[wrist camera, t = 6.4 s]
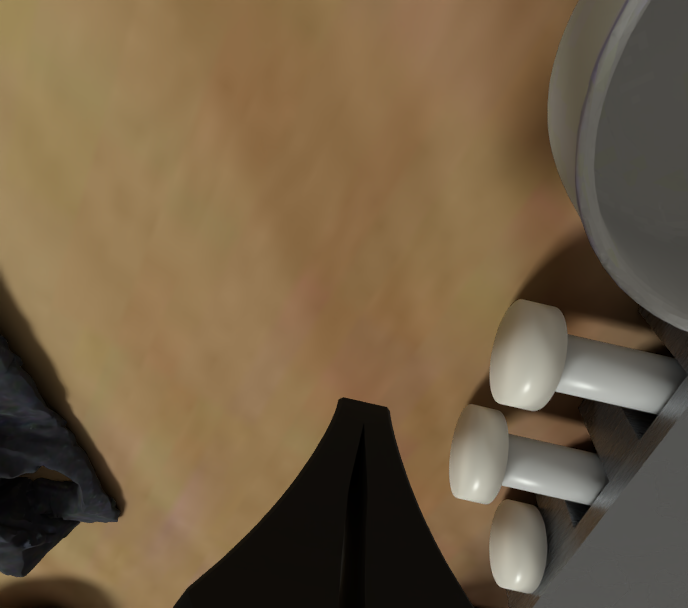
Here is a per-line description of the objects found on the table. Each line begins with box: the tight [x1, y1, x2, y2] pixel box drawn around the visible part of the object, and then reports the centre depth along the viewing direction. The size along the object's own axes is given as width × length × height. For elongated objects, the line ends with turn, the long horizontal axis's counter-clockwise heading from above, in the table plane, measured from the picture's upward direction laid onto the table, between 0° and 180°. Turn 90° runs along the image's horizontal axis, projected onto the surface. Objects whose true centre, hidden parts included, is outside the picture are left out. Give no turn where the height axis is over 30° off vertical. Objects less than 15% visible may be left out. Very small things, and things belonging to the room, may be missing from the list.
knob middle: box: [449, 404, 609, 506], centre depth 21 cm, size 4×8×4 cm, turn 79°
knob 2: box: [490, 299, 688, 415], centre depth 18 cm, size 4×8×4 cm, turn 79°
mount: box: [506, 306, 688, 608], centre depth 21 cm, size 18×10×5 cm, turn 169°
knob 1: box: [489, 499, 552, 594], centre depth 24 cm, size 4×8×4 cm, turn 79°
